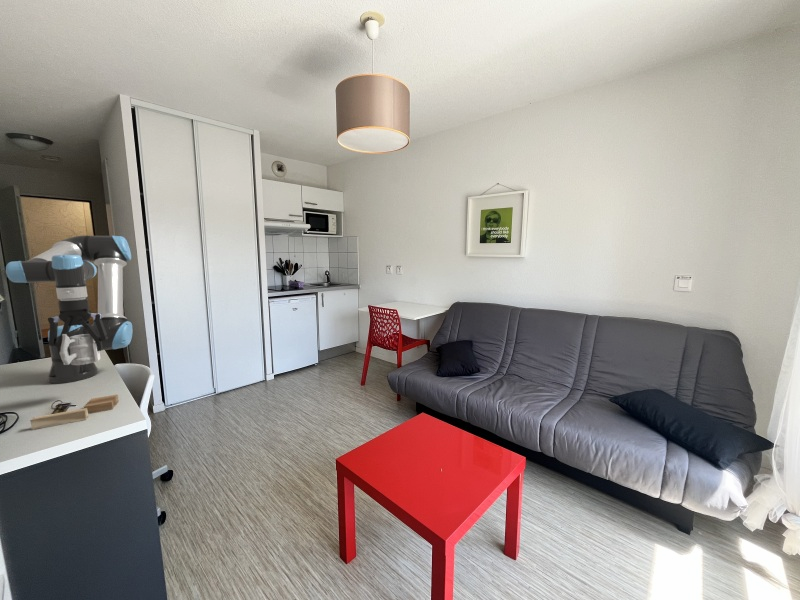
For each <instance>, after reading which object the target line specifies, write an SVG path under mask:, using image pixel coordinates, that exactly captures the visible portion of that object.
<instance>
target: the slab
mask: <svg viewBox="0 0 800 600" xmlns="http://www.w3.org/2000/svg"><path fill="white" fill-rule="evenodd" d="M118 403H119V394H112V395H106V396H100V397H93V398H91V399H90V400H88V401H87V402H86V403H85V405H84V406H83V409H84V408H87V411H88V415H89V414H94V413H100V412H106V411H112V410H114V408H115V407H116V405H117V404H118Z"/></svg>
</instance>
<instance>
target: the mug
mask: <svg viewBox="0 0 800 600" xmlns="http://www.w3.org/2000/svg"><path fill="white" fill-rule="evenodd" d="M62 337H63V338H62V344H61V350H60V356H61V359H62V362H64V363H65V365H69V364H70V363H71V365H84V364H89V363H93V362H94V363H95V362H97V361H95V355H94V348H93V343H94V342H95V341H94V339H93V338H92V337H91V335H90V334H82V335H75V336H71V337H68V336H67V335H66V334H62ZM68 346H69V348H70V356H69V355H68V351H67V348H68Z"/></svg>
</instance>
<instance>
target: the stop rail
mask: <svg viewBox="0 0 800 600" xmlns="http://www.w3.org/2000/svg"><path fill="white" fill-rule="evenodd" d="M88 418H89V414H88V411H87V408H84V407H83V408H80V409H73V410H68V411H63V412H62V411H61V412H55V413H51V414H47V415H46V414H45V415H40V416H35V417H32V418H31V419H30V420H29V421H30V426H31V430H38V429H42V428H48V427H55V426H60V425H64V424H65V425H66V424H70V423H71V424H72V423H76V422H80V421H86V420H87V419H88Z"/></svg>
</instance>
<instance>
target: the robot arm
mask: <svg viewBox="0 0 800 600" xmlns="http://www.w3.org/2000/svg"><path fill="white" fill-rule="evenodd" d="M131 260H132V253H131V249H130V246H129V242H128V241H127V239H126V237H124V236H121V235H87V234H84V235H76V236H72V237H69V238H65V239H61V240H59V241H57V242H55V243H54V244H53V245H52V246H51V248H50V249H47V250H46V251H44V252H42V253H40V254H37V255H36V256H33V257H32V258H30V259H28V260H23V261H22V260H18V261H10V262H7V264H6V266H5V273H6V276H7V278H8V280H9V281H11V282H12V283H20V284H21V283H25V284H27V283H47V282H48V283H49V282H50V283H51V282H54V285H55V291H56V297H57V300H58V301H57V303H58V310H59V314H58V315H57V316H50V317H48V318H47V321H48V323H49V330H48V331H47V341H48V345H49V352H50V358H51V365H50V369H49V373H48V377H47V379H48V380H47V381H48V383H49V384H65V383H71V382H77V381H82V380H85V379H89V378H91V377H93V376H96V375H98V373H99V370H98V367H97V365H96V364H95V362H93V363H89V364H84V365H71V363H70V364H69V365H65V363H64V362H62V359H61V356H60V350H61V344H62V338H63V337H62V334H66V335H67V336H68V337H71V336H75V335H82V334H90V335H91V337H92V338H93V339H94V341H95V342H94V343H93V348H94V355H95V361H96V362H98V361H99V360H101V354H100V353H101V352H102V351H107V350H117V349H123V348H126V347H128V346H129V345H130V344H131V341H132V338H133V334H134V333H133V324H132V322H131V321H128V318H127V317H126V316H124V293H123V291H124V285H123V282H124V281H123V279H124V278H123V277H124V276H123V273H124V272H123V271H124V270H123V269H124V268H125V267H126V266H127V263H128V262H130V261H131ZM90 261H91V262H90ZM96 275H97V313H92V312H91V310H90V304H89V299H88V289H87V284H86V283H87V282H86V281H88V280H91V279H93V278H94V277H95V276H96ZM91 317H92V324H91V322H90V321H89V320H90V318H91ZM60 321H62V322H64V324H63V325H59V322H60ZM67 351H68V355H69V356H70V348H69V346H68V348H67Z"/></svg>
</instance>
